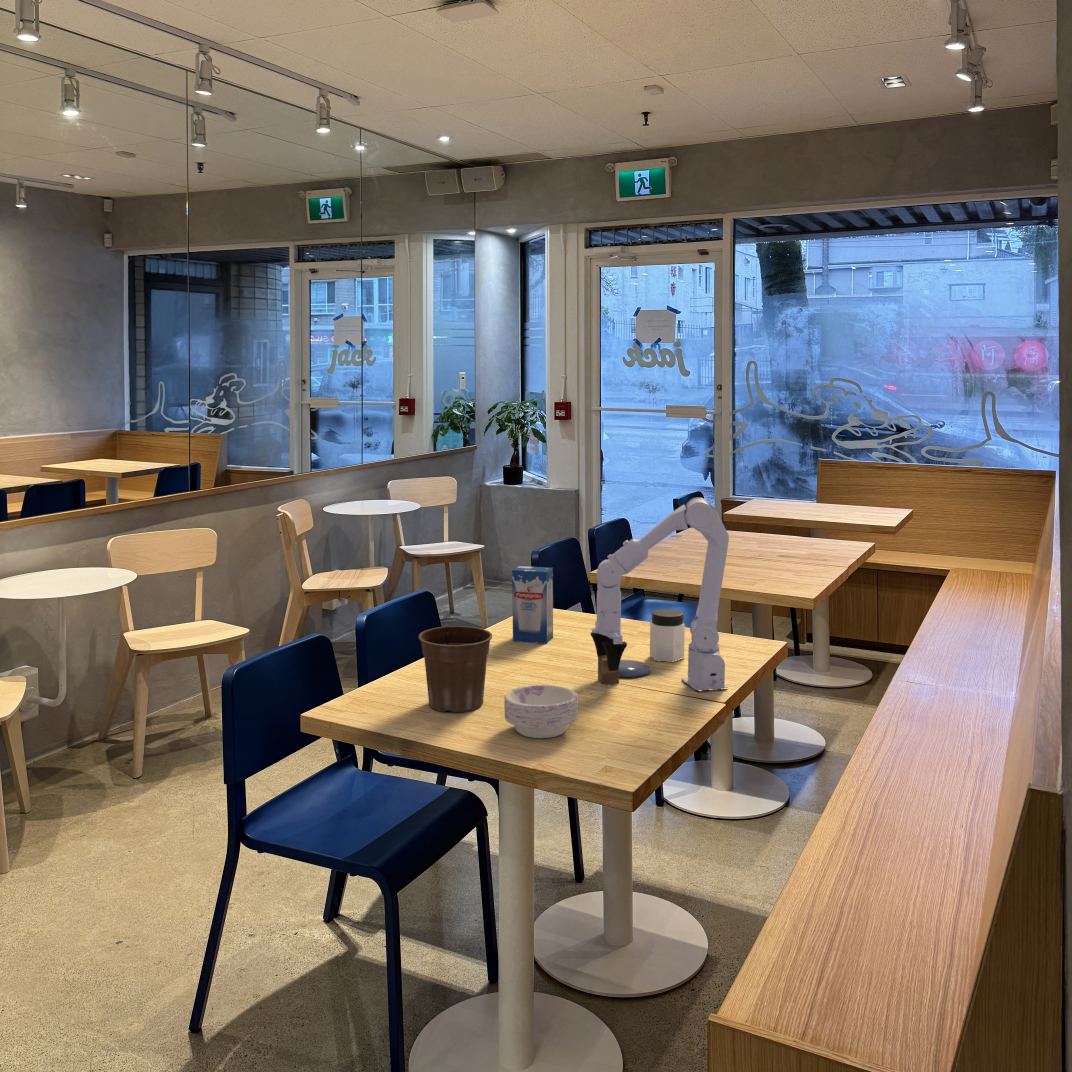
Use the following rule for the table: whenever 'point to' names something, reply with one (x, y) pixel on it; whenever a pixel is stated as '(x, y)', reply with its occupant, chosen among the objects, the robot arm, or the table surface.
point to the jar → (667, 635)
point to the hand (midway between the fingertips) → (608, 665)
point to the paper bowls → (541, 710)
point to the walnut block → (606, 672)
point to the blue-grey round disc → (633, 668)
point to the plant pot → (455, 666)
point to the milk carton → (532, 604)
